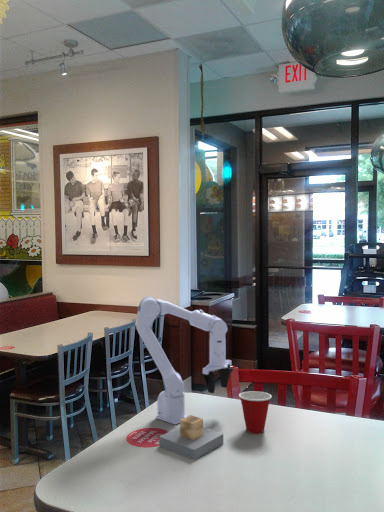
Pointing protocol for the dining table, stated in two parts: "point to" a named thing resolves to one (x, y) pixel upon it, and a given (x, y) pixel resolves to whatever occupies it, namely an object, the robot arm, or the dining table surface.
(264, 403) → the plastic cup
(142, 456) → the dining table surface
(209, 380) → the robot arm
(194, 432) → the oak cube
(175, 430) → the slate base
